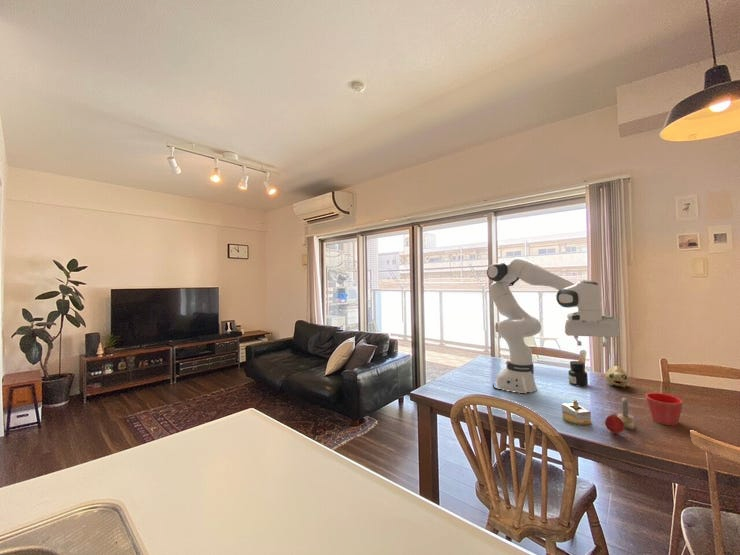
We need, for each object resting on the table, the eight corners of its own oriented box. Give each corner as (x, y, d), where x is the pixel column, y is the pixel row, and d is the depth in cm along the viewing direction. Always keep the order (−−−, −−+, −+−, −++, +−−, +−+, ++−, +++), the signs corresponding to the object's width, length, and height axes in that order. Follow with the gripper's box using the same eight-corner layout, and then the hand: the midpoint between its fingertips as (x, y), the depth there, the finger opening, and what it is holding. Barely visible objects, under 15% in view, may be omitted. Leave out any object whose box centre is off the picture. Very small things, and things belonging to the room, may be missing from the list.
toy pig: (606, 388, 164) (605, 368, 164) (605, 381, 174) (604, 362, 174) (630, 391, 158) (629, 371, 158) (628, 384, 168) (627, 364, 168)
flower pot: (675, 430, 120) (674, 405, 120) (641, 418, 130) (640, 396, 130) (689, 423, 124) (687, 399, 124) (655, 413, 134) (654, 391, 134)
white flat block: (577, 419, 127) (576, 412, 127) (562, 410, 136) (562, 403, 136) (591, 418, 127) (590, 411, 127) (575, 409, 136) (575, 402, 136)
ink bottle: (567, 380, 179) (566, 359, 179) (585, 381, 175) (584, 360, 175) (570, 386, 170) (569, 364, 170) (589, 387, 166) (588, 365, 166)
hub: (564, 423, 130) (563, 403, 130) (561, 413, 138) (560, 394, 138) (593, 427, 125) (592, 406, 125) (588, 417, 134) (587, 397, 134)
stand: (620, 427, 124) (618, 400, 124) (616, 422, 128) (615, 395, 128) (636, 429, 122) (634, 402, 122) (632, 424, 126) (630, 397, 126)
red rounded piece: (608, 436, 118) (607, 415, 118) (603, 429, 123) (602, 409, 123) (627, 438, 116) (626, 417, 116) (621, 431, 121) (620, 411, 121)
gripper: (616, 315, 139) (618, 345, 139) (563, 314, 148) (565, 343, 148) (620, 317, 134) (622, 348, 134) (565, 316, 143) (566, 346, 143)
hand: (591, 345), depth 141 cm, fingers open, 8 cm apart
